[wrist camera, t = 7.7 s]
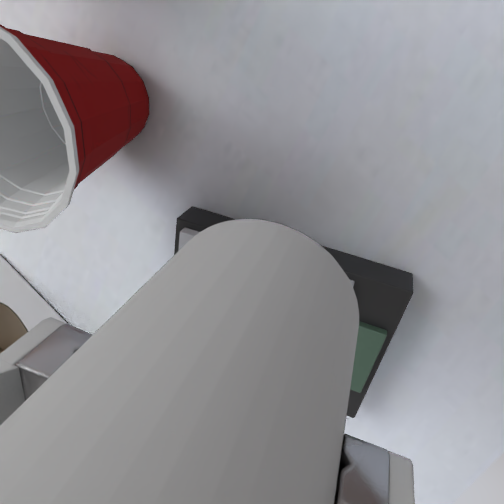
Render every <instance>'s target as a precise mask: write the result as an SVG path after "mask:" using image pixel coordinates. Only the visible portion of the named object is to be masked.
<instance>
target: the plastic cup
mask: <svg viewBox="0 0 504 504" xmlns="http://www.w3.org/2000/svg"><path fill="white" fill-rule="evenodd" d="M148 116H149V97H148V94H147V91H146V88H145V85H144V82H143V81H142V79H141V78H140V76H139V75H138V74H137V72H136V71H135V70H134V68H133V67H132V66H130V65H129V64H127V63H126V62H124V61H123V60H121V59H120V58H117V57H115V56H114V55H109V54H104V53H99V52H94V51H91V50H90V49H88V48H84V47H79V46H75V45H70V44H66V43H62V42H57V41H53V40H48V39H44V38H39V37H35V36H31V35H26V34H23V33H21V32H20V31H17V30H12V29H8V28H5V27H4V26H2V25H0V229H2V230H6V231H10V232H14V233H19V232H24V231H29V230H35V229H40V228H45V227H46V226H47V225H49V224H50V223H51V222H52V221H53V220H54V219H55V218H56V217H57V216H58V215H59V214H60V213H61V212H63V211H64V210H65V209H66V208H67V207H68V205H69V204H70V201H71V197H72V194H73V191H74V189H75V188H76V187H77V186H78V184H79V183H80V182H81V181H82V180H83V179H85V178H86V177H87V176H88V175H90V174H91V173H92V172H94V171H95V170H96V169H97V168H99V167H100V166H101V165H102V164H104V163H105V162H106V161H107V160H109V159H110V158H111V157H112V156H114V155H115V154H116V153H117V152H118V151H119V150H120V149H121V148H122V147H123V146H125V145H126V144H128V143H129V142H130V141H132V140H133V139H134V138H135V137H136V136H137V135H138V134H139V133H140V132H141V131H142V129H143V128H144V127H145V124H146V121H147V118H148Z"/></svg>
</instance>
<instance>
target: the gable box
mask: <svg viewBox="0 0 504 504" xmlns="http://www.w3.org/2000/svg"><path fill="white" fill-rule="evenodd" d="M50 317H52V318H54V319H57V320H59V321H62V322H64V323H67V322H66V321H65V320H64V319H63V318H62V317H61V316H60V315H59V314H58V313H57V312H56V311H55V310H54V309H53V308H52V307H51V306H50V305H49V304H48V303H47V302H46V301H45V300H44V299H43V298H42V297H41V296H40V295H39V294H38V293H37V292H36V291H35V290H34V289H33V288H32V287H31V286H30V285H29V284H28V282H27V281H26V280H25V279H24V278H23V277H22V276H21V275H20V274H19V273H18V272H17V271H16V270H15V269H14V268H13V267H12V266H11V265H10V264H9V263H8V262H7V261H6V260H5V259H4V258H3V257H2V256H1V255H0V353H2V352H3V351H4V350H6V349H7V348H8V347H9V346H11V345H12V344H13V343H14V342H16V341H17V340H18V339H20V338H21V337H22V336H23V335H25V334H26V333H27V332H28V331H30V330H31V329H32V328H34V327H35V326H36V325H37V324H39V323H40V322H41V321H42V320H44V319H47V318H50ZM67 324H68V323H67Z"/></svg>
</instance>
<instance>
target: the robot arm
mask: <svg viewBox="0 0 504 504" xmlns="http://www.w3.org/2000/svg"><path fill="white" fill-rule="evenodd" d="M91 336H92V334H90V333H88V332H85V331H83V330H81V329H78V328H76V327H74V326H71V325H69V324H67V323H64V322H62V321H59V320H57V319H54V318H52V317H50V318H47V319H44V320H42V321H41V322H40V323H39V324H37V325H36V326H35V327H34V328H32V329H31V330H30V331H28V332H27V333H26V334H25V335H23V336H22V337H21V338H20V339H18V340H17V341H16V342H14V343H13V344H12V345H11V346H9V347H8V348H7V349H6V350H4V351H3V352H2V353H0V425H1V424H2V423H3V422H4V421H5V420H6V419H7V418H8V417H10V416H11V415H12V414H13V413H14V412H15V411H16V410H17V409H18V408H19V407H20V406H21V405H22V404H23V403H24V402H25V401H26V400H27V399H28V398H29V397H30V396H31V395H32V394H33V393H34V392H35V391H36V390H37V389H38V388H39V387H40V386H41V385H42V384H43V383H44V382H45V381H46V380H47V379H48V378H49V377H50V376H51V375H52V374H53V373H54V372H56V371H57V370H58V369H59V368H60V367H61V366H62V365H63V364H64V363H65V362H66V361H67V360H68V359H69V358H70V357H71V356H72V355H73V354H74V353H75V352H76V351H77V350H78V349H79V348H80V347H81V346H82V345H83V344H84V343H85V342H86V341H87V340H88V339H89V338H90V337H91ZM334 504H415V500H414V476H413V464H412V461H411V460H410V459H408V458H405V457H403V456H400V455H398V454H395V453H393V452H390V451H387V449H384V448H381V447H379V446H376V445H373V444H371V443H368V442H365V441H363V440H360V439H358V438H355V437H352V436H350V435H347V434H344V437H343V444H342V451H341V459H340V466H339V473H338V480H337V487H336V495H335V502H334Z"/></svg>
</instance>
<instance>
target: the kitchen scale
mask: <svg viewBox="0 0 504 504" xmlns="http://www.w3.org/2000/svg"><path fill="white" fill-rule="evenodd" d="M230 220H235V219H232V218H228V217H225V216H222V215H218V214H215V213H212V212H209V211H205V210H202V209H199V208H195V207H191V208H189V209H188V210H187V211H186V212H184V213H183V214H182V215H181V216H179V217H178V218H177V225H176V239H175V253H174V255H175V254H176V253H177V252H178V251H179V250H180V249H181V248H182V247H183V246H184V245H185V244H186V243H187V242H188V241H189V240H191V239H192V238H193V237H194V236H195V235H197V234H198V233H199V232H201V231H203V230H205V229H206V228H208V227H210V226H213V225H215V224H218V223H221V222H225V221H230ZM322 247H323V246H322ZM323 248H324V249H325V250H327V251H328V252H329V253H330V254H331V255H332V256H333V258H334V259H335V260H336V261H337V263H338V264H339V265H340V267H341V268H342V269H343V271H344V272H345V274H346V275H347V277H348V278H349V280H350V282H351V284H352V287H353V289H354V292H355V295H356V298H357V302H358V308H359V329H358V336H357V343H356V350H355V358H354V365H353V372H352V379H351V386H350V394H349V401H348V408H347V416H350V417H352V418H354V417H355V415H356V413H357V411H358V409H359V407H360V405H361V403H362V401H363V398H364V396H365V394H366V392H367V390H368V388H369V386H370V384H371V381H372V379H373V377H374V375H375V373H376V371H377V369H378V367H379V364H380V362H381V360H382V358H383V356H384V354H385V352H386V350H387V347H388V345H389V343H390V341H391V339H392V337H393V335H394V333H395V330H396V328H397V326H398V324H399V322H400V320H401V318H402V316H403V313H404V311H405V309H406V307H407V305H408V303H409V301H410V299H411V296H412V294H413V277H412V273H409V272H405V271H402V270H399V269H395V268H392V267H389V266H386V265H382V264H379V263H376V262H373V261H369V260H366V259H363V258H359V257H356V256H353V255H350V254H346V253H343V252H340V251H336V250H333V249H330V248H327V247H323Z"/></svg>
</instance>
